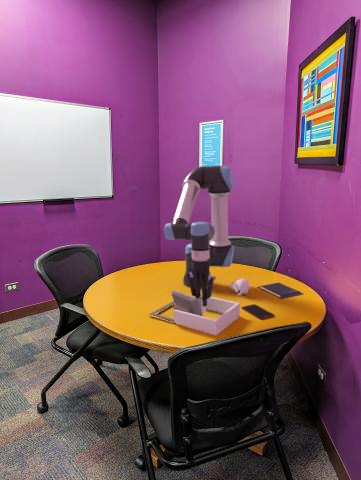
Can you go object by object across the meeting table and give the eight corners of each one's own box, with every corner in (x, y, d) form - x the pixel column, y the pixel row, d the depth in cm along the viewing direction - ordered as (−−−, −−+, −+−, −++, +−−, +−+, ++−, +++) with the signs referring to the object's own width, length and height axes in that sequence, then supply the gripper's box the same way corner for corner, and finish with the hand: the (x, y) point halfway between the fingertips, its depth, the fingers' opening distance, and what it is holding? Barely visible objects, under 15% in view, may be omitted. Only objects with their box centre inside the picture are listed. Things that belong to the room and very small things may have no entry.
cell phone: (254, 305, 161) (254, 303, 160) (275, 317, 148) (275, 315, 147) (240, 309, 157) (240, 307, 157) (261, 321, 144) (261, 318, 144)
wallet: (304, 292, 172) (280, 296, 166) (304, 295, 172) (280, 300, 167) (279, 280, 190) (256, 284, 185) (279, 284, 191) (256, 288, 185)
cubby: (174, 323, 143) (173, 310, 142) (200, 306, 160) (200, 294, 159) (215, 335, 132) (215, 321, 131) (239, 316, 149) (239, 303, 148)
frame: (149, 316, 151) (149, 314, 151) (177, 301, 168) (177, 299, 168) (173, 323, 144) (173, 320, 144) (199, 306, 161) (199, 304, 160)
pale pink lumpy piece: (240, 280, 169) (226, 276, 180) (241, 297, 170) (227, 292, 181) (250, 278, 172) (235, 274, 182) (251, 294, 173) (236, 290, 183)
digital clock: (205, 320, 146) (204, 297, 144) (186, 325, 142) (186, 301, 140) (185, 308, 160) (185, 286, 158) (168, 312, 156) (168, 290, 154)
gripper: (181, 259, 144) (183, 312, 148) (210, 263, 136) (211, 319, 140) (191, 255, 150) (192, 306, 154) (219, 259, 142) (220, 312, 146)
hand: (201, 312), depth 147 cm, fingers closed, pressing on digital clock
